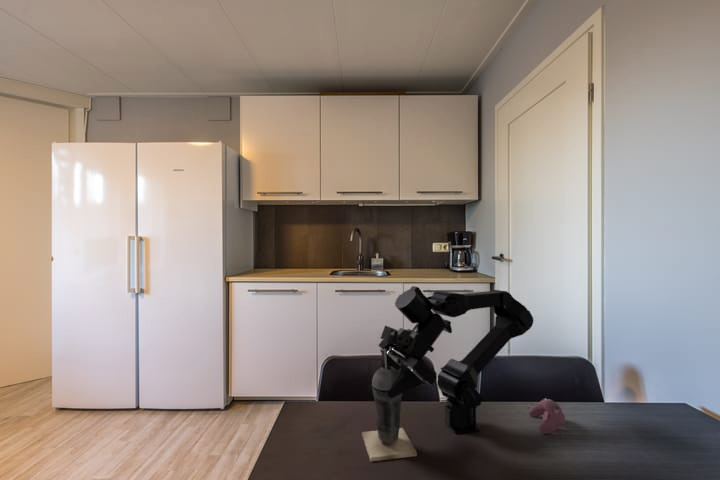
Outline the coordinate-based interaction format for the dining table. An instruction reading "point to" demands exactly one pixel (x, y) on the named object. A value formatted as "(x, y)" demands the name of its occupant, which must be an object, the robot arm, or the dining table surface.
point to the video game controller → (548, 415)
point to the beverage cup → (386, 403)
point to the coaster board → (388, 446)
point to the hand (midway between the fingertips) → (382, 390)
